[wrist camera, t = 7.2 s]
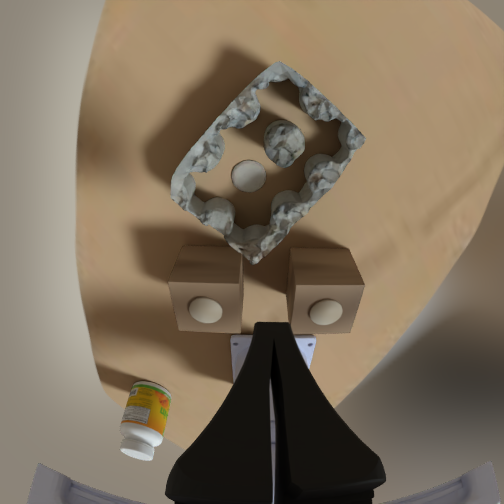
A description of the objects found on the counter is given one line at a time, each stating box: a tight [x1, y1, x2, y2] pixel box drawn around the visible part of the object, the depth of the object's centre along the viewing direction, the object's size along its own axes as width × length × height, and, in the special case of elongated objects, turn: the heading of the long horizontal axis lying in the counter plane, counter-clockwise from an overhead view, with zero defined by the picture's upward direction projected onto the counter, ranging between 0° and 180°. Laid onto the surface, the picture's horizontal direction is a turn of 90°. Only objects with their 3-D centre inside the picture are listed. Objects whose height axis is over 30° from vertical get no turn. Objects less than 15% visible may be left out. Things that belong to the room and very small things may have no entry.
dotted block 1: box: [168, 246, 244, 333], centre depth 21 cm, size 4×4×5 cm
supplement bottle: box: [120, 381, 171, 461], centre depth 30 cm, size 5×5×10 cm
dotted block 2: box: [286, 248, 365, 334], centre depth 21 cm, size 4×4×5 cm
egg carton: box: [171, 61, 366, 265], centre depth 16 cm, size 11×8×4 cm
